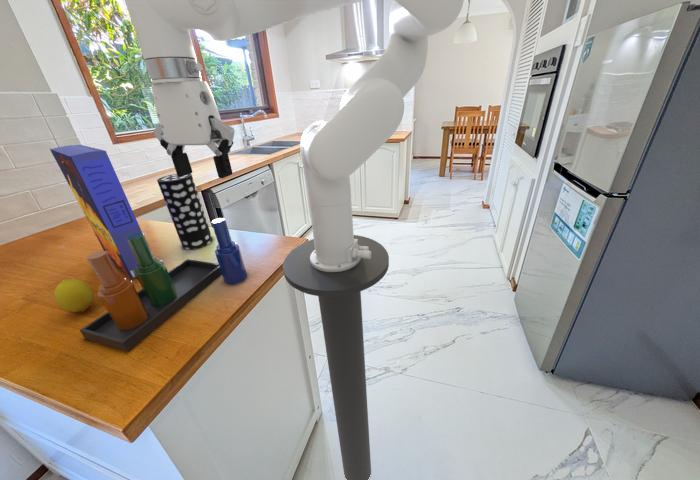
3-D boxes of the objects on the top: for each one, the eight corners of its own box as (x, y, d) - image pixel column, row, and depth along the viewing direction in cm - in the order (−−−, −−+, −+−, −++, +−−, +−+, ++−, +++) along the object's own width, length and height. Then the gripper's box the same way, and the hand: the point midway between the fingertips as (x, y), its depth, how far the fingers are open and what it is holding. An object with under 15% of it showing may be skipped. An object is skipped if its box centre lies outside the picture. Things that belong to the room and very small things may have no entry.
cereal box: (106, 254, 84) (49, 148, 70) (129, 246, 88) (80, 143, 74) (132, 279, 71) (69, 155, 57) (158, 268, 75) (105, 149, 61)
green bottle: (182, 292, 63) (157, 231, 56) (162, 308, 59) (132, 244, 52) (164, 289, 65) (137, 229, 58) (144, 303, 61) (112, 241, 54)
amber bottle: (154, 314, 58) (122, 248, 51) (130, 333, 53) (91, 264, 46) (136, 309, 59) (102, 245, 52) (110, 327, 55) (70, 260, 48)
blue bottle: (251, 273, 70) (236, 216, 63) (238, 286, 66) (219, 226, 59) (234, 270, 71) (217, 214, 64) (219, 283, 67) (199, 224, 60)
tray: (225, 272, 71) (222, 264, 70) (128, 352, 50) (122, 342, 49) (190, 266, 75) (187, 259, 74) (85, 339, 54) (79, 330, 53)
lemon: (92, 299, 65) (74, 269, 61) (105, 306, 62) (87, 275, 58) (62, 315, 60) (40, 284, 57) (74, 323, 58) (53, 291, 54)
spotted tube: (175, 248, 84) (149, 181, 75) (196, 235, 91) (174, 172, 82) (199, 250, 82) (175, 182, 73) (218, 237, 89) (198, 173, 80)
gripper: (233, 69, 48) (254, 171, 56) (155, 77, 53) (185, 169, 61) (200, 68, 42) (229, 183, 50) (115, 76, 47) (154, 179, 55)
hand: (205, 175), depth 56 cm, fingers open, 9 cm apart
